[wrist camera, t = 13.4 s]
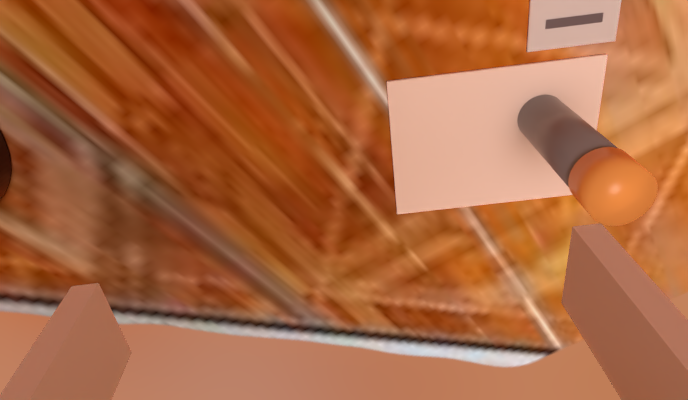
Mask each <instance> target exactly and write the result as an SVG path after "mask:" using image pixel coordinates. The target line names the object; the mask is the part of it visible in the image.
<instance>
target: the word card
mask: <svg viewBox="0 0 688 400" xmlns="http://www.w3.org/2000/svg"><path fill="white" fill-rule="evenodd" d="M620 7H621V0H530V3H529V19H528V35H527V50H526V51H527V52H532V51H540V50H548V49H556V48H564V47H572V46H580V45H588V44H596V43H604V42H612V41H615V40H616V33H617V26H618V20H619V13H620Z"/></svg>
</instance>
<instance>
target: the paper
mask: <svg viewBox="0 0 688 400" xmlns="http://www.w3.org/2000/svg"><path fill="white" fill-rule="evenodd" d="M607 56H608V55H607V54H600V55H592V56H584V57H576V58H568V59H559V60H551V61H543V62H535V63H527V64H519V65H511V66H503V67H495V68H487V69H479V70H471V71H463V72H455V73H447V74H439V75H430V76H422V77H414V78H406V79H398V80H390V81H386V82H387V95H388V108H389V120H390V133H391V146H392V158H393V171H394V184H395V196H396V209H397V214H405V213H414V212H422V211H431V210H440V209H449V208H458V207H467V206H476V205H485V204H494V203H503V202H512V201H521V200H530V199H539V198H548V197H557V196H566V195H573V194H572V193H571V191H570V189H569V187H568V186H567V185H566V184H565V183H564V181H563V180H562V179H561V178H560V177H559V176H558V174H557V173H556V172H555V171H554V170H553V169H552V167H551V166H550V165H549V164H548V163H547V161H546V160H545V159H544V158H543V157H542V156H541V154H540V153H539V152H538V151H537V150H536V149H535V147H534V146H533V145H532V144H531V143H530V142H529V140H528V139H527V138H526V137H525V136H524V135H523V133H522V132H521V131H520V129H519V127H518V122H517V119H518V114H519V112H520V110H521V108H522V107H523V105H524V104H525V103H526V102H527V101H529V100H530V99H532V98H533V97H536V96H538V95H544V94H545V95H552V96H555V97H557V98H558V99H559V100H560V101H562V102H563V103H564V104H565V105H566V106H568V107H569V108H570V109H571V110H572V111H574V112H575V113H576V114H577V115H579V116H580V117H581V118H582V119H583V120H585V121H586V122H587V123H588V124H589V125H591V126H592V127H593V128H594V129H595V130H597V125H598V118H599V111H600V104H601V97H602V90H603V84H604V77H605V70H606V63H607Z"/></svg>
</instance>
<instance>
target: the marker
mask: <svg viewBox="0 0 688 400" xmlns="http://www.w3.org/2000/svg"><path fill="white" fill-rule="evenodd" d="M517 122H518V127H519V129H520V131H521V132H522V133H523V135H524V136H525V137H526V138H527V139H528V140H529V142H530V143H531V144H532V145H533V146H534V147H535V149H536V150H537V151H538V152H539V153H540V154H541V156H542V157H543V158H544V159H545V160H546V161H547V163H548V164H549V165H550V166H551V167H552V169H553V170H554V171H555V172H556V173H557V174H558V176H559V177H560V178H561V179H562V180H563V181H564V183H565V184H566V185H567V186H568V187H569V189H570V191H571V193H572V194H573V195H574V197H575V198H576V199H577V200H578V201H579V203H580V204H581V205H582V206H583V207H584V208H585V210H586V211H587V212H588V213H589V214H590V216H591V217H592V218H593V219H594V220H595V221H596V222H598V223H601V224H602V225H606V226H620V225H625V224H628V223H630V222H633V221H635V220H637V219H638V218H640V217H641V216H642V215H644V214H645V213H646V212H647V211H648V210H649V209H650V207H651V206H652V205H653V203H654V201H655V199H656V196H657V192H658V185H657V181H656V179H655V177H654V176H653V175H652V174H651V173H650V172H649V171H648V170H646V169H645V168H644V167H643V166H641V165H640V164H639V163H638V162H637V161H635V160H634V159H633V158H632V157H631V156H629V155H628V154H627V153H626V152H624V151H623V150H621V149H619V148H617V147H616V146H615V145H613V144H612V143H611V142H610V141H609V140H607V139H606V138H605V137H604V136H603V135H601V134H600V133H599V132H598V131H597V130H595V129H594V128H593V127H592V126H591V125H589V124H588V123H587V122H586V121H585V120H583V119H582V118H581V117H580V116H579V115H577V114H576V113H575V112H574V111H572V110H571V109H570V108H569V107H568V106H566V105H565V104H564V103H563V102H562V101H560V100H559V99H558V98H557V97H555V96H552V95H545V94H544V95H538V96H536V97H533V98H532V99H530V100H529V101H527V102H526V103H525V104H524V105H523V107H522V108H521V110H520V112H519V114H518V119H517Z"/></svg>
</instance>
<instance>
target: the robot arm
mask: <svg viewBox="0 0 688 400" xmlns="http://www.w3.org/2000/svg"><path fill="white" fill-rule="evenodd" d="M10 176H11V163H10V157H9V152H8V149H7V146H6V143H5V141H4V139H3V136H2V134H1V133H0V199H1V198H2V197H3V195H4V194H5V192H6V190H7V188H8V185H9V181H10ZM562 304H563V306H564V307H565V309H566V311H567V312H568V314H569V315H570V317H571V319H572V320H573V322H574V324H575V325H576V327H577V328H578V330H579V332H580V333H581V335H582V337H583V338H584V340H585V341H586V343H587V345H588V346H589V348H590V349H591V351H592V353H593V354H594V356H595V358H596V359H597V361H598V362H599V364H600V366H601V367H602V369H603V371H604V372H605V374H606V375H607V377H608V379H609V380H610V382H611V384H612V385H613V387H614V388H615V390H616V392H617V393H618V395H619V396H620V398H621V400H688V320H687V319H686V318H685V316H684V315H683V314H682V313H681V312H680V311H679V310H678V309H677V308H676V307H675V305H674V304H673V303H672V302H671V301H670V300H669V299H668V298H667V296H666V295H665V294H664V293H663V292H662V291H661V290H660V289H659V288H658V286H657V285H656V284H655V283H654V282H653V281H652V280H651V279H650V277H649V276H648V275H647V274H646V273H645V272H644V271H643V270H642V269H641V267H640V266H639V265H638V264H637V263H636V262H635V261H634V260H633V259H632V257H631V256H630V255H629V254H628V253H627V252H626V251H625V250H624V249H623V247H622V246H621V245H620V244H619V243H618V242H617V241H616V240H615V239H614V237H613V236H612V235H611V234H610V233H609V232H608V231H607V230H606V229H605V227H604V226H603V225H602V224H601V223H600V224H592V225H583V226H575V227H573V228H572V235H571V242H570V249H569V255H568V262H567V269H566V276H565V283H564V290H563V297H562ZM130 355H131V350H130V348H129V346H128V344H127V342H126V340H125V338H124V336H123V333H122V331H121V329H120V327H119V325H118V323H117V321H116V319H115V317H114V314H113V312H112V310H111V308H110V306H109V304H108V302H107V300H106V298H105V295H104V293H103V291H102V289H101V287H100V285H99V283H95V284H86V285H78V286H71V288H70V289H69V291H68V292H67V294H66V295H65V297H64V298H63V300H62V301H61V303H60V305H59V306H58V308H57V309H56V311H55V312H54V314H53V315H52V317H51V318H50V320H49V321H48V323H47V324H46V326H45V327H44V329H43V331H42V332H41V333H40V335H39V337H38V338H37V340H36V341H35V343H34V344H33V346H32V347H31V349H30V350H29V352H28V353H27V355H26V356H25V358H24V359H23V361H22V362H21V364H20V366H19V367H18V368H17V370H16V372H15V373H14V375H13V376H12V378H11V379H10V381H9V382H8V384H7V385H6V387H5V388H4V390H3V391H2V393H1V395H0V400H111V399H112V397H113V395H114V393H115V390H116V388H117V386H118V383H119V381H120V378H121V376H122V374H123V371H124V369H125V367H126V364H127V362H128V359H129V357H130Z"/></svg>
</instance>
